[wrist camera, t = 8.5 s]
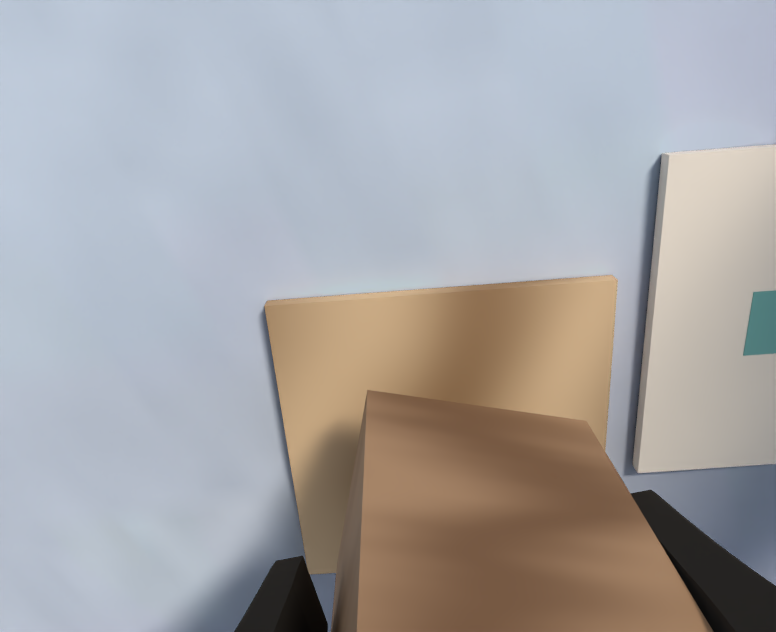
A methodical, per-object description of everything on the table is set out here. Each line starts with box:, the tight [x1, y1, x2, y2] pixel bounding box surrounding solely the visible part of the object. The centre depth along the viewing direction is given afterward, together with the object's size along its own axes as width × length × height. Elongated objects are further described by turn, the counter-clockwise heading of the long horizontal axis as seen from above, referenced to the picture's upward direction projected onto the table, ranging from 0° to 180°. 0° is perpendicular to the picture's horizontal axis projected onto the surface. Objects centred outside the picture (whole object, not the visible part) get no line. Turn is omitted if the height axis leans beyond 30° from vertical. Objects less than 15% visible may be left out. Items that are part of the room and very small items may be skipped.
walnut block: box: [331, 390, 713, 632], centre depth 11 cm, size 5×5×7 cm
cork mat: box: [264, 275, 618, 574], centre depth 17 cm, size 9×9×1 cm
